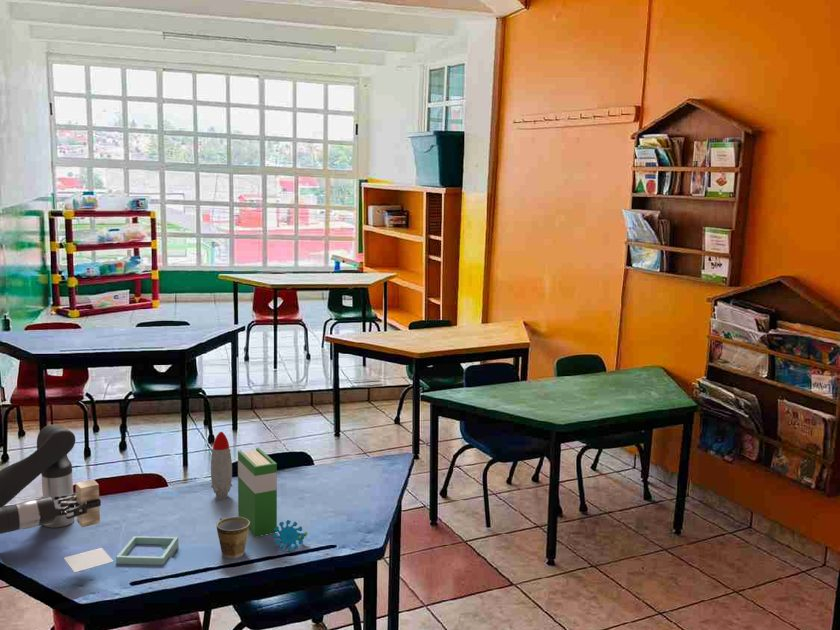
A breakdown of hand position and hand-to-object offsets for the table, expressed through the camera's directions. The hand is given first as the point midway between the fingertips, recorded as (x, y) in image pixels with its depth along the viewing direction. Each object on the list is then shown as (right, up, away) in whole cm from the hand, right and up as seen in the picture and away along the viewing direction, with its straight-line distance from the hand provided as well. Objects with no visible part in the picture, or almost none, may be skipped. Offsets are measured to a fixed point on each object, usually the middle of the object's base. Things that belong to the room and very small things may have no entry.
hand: (97, 499), depth 220 cm
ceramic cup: (+37, -20, +12) cm, 43 cm away
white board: (-3, -20, +1) cm, 20 cm away
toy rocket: (+23, -13, +54) cm, 60 cm away
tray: (+13, -19, +6) cm, 24 cm away
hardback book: (+41, -17, +32) cm, 54 cm away
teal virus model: (+55, -19, +17) cm, 60 cm away
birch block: (-2, -7, -1) cm, 7 cm away
